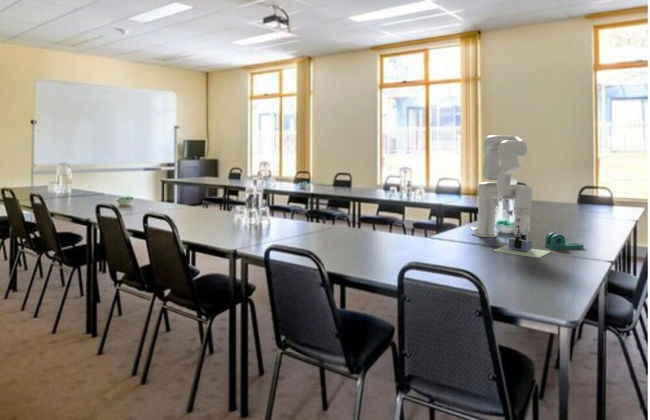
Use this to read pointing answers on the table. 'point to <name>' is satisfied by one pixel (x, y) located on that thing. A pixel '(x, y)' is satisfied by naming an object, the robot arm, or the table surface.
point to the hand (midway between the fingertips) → (520, 246)
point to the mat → (522, 252)
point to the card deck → (525, 245)
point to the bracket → (560, 242)
